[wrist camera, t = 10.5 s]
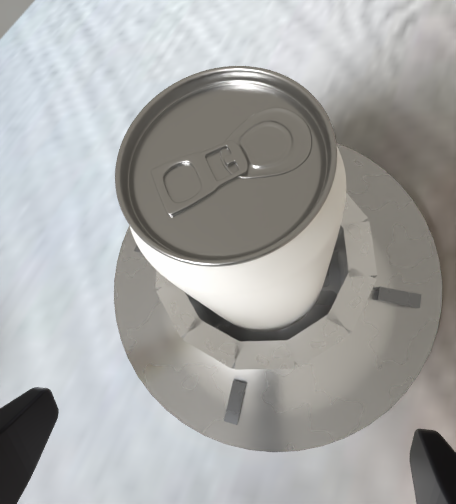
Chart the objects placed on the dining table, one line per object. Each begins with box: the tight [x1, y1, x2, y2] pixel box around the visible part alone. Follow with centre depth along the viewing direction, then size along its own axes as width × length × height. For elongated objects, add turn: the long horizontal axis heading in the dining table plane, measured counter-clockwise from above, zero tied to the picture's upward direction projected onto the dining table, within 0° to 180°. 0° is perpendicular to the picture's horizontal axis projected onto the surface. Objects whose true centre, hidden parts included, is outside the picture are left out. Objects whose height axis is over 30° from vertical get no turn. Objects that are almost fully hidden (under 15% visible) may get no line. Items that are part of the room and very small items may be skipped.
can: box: [115, 66, 346, 332], centre depth 15 cm, size 6×6×12 cm
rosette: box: [114, 143, 442, 452], centre depth 19 cm, size 18×18×4 cm
